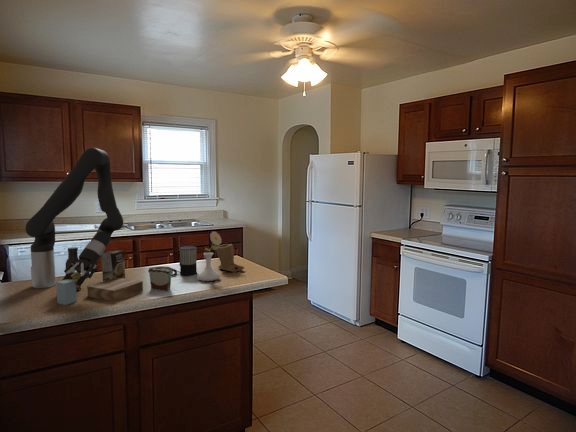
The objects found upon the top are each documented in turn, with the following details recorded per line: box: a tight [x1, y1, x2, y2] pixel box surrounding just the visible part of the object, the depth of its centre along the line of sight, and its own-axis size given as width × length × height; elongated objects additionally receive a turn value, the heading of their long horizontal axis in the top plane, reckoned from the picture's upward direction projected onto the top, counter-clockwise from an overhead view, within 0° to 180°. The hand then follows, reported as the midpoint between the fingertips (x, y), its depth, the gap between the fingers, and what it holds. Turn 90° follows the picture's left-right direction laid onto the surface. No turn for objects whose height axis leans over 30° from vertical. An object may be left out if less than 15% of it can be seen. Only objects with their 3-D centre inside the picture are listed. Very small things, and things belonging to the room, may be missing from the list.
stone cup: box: [215, 243, 245, 273], centre depth 213 cm, size 15×12×15 cm
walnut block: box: [86, 278, 144, 302], centre depth 169 cm, size 16×16×5 cm
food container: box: [147, 266, 174, 292], centre depth 177 cm, size 12×6×10 cm, turn 71°
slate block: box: [55, 279, 78, 306], centre depth 157 cm, size 5×5×9 cm
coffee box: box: [101, 249, 126, 282], centre depth 184 cm, size 9×6×16 cm
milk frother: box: [170, 245, 198, 277], centre depth 202 cm, size 14×16×15 cm
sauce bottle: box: [64, 246, 82, 292], centre depth 174 cm, size 7×6×20 cm
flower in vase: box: [196, 231, 223, 282], centre depth 193 cm, size 13×11×25 cm
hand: (70, 284), depth 158 cm, fingers open, 8 cm apart
